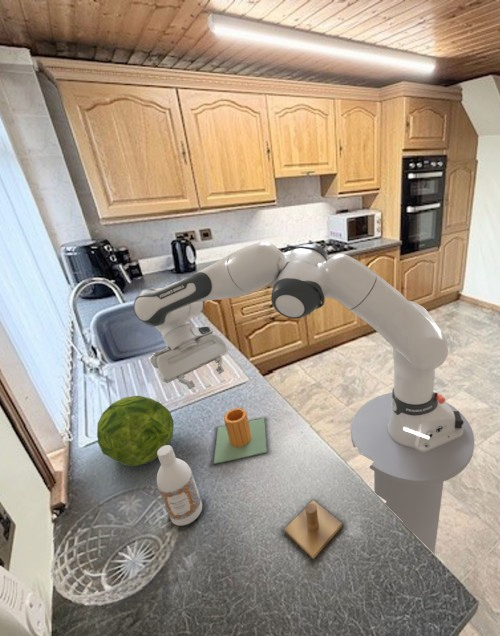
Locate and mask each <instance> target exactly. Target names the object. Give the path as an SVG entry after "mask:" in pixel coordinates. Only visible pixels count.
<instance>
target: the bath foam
mask: <svg viewBox="0 0 500 636" xmlns="http://www.w3.org/2000/svg"><path fill="white" fill-rule="evenodd" d="M157 455H158V457H157V458H158V461H159V462H160V466H159V469H158V471H157V474H156V485H157V490H158V491H159V494H160V497H161V499H162V502H163V504H164V506H165V509H166V511H167V513H168V516H169V518H170V521H171V522H172V524H174V525H176V526H179V527H181V526H182V527H183V526H187V525H189V524H191V523H193V522H194V521H195V520H196V519H198V518H199V516H200V515H201V512H202V509H203V502H202V499H201V495H200V493H199V490H198V487H197V484H196V481H195V477H194V475H193V472H192V469H191V467H190V466H189V464H188V462H186V461H184V460H182V459H180V458H178V457H176V454H175V452H174V449H173V446H172V445H170V444H169V445H166V446H163V447H161V448H160V449H159V450H158V451H157Z"/></svg>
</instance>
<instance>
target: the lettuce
mask: <svg viewBox="0 0 500 636" xmlns="http://www.w3.org/2000/svg"><path fill="white" fill-rule="evenodd" d="M96 429H97V430H96V437H97V444H98V446H99V448H100V450H101V452H102V454H103V455H105V456H106V457H109V458H110V459H111V460H113V461H115V462H118V463H121V464H123V465H125V466H129V467H130V466H132V467H140V466H143V465H146V464H150V463H151V462H152V461H154V460H156V459H157V458H158V455H157V451H158V450H159V449H160V448H161V447H163V446H166V445H170V443H171V441H172V438H173V436H174V418H173V416H172V414H171V411H170V410H169V409H168V408H167V407H166V406H165V405H164V404H162V403H161V402H160V401H157V400H155V399H153V398H150V397H146V396H141V395H134V396H133V395H132V396H125V397H122V398H120V399H119V400H116V401H115V402H112V403H111V404H110V405H109V406H108V407H107V408H106V409H105V410H104V411H103V412H102V414H101V416H100V418H99V420H98V421H97V428H96Z"/></svg>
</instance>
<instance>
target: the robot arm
mask: <svg viewBox="0 0 500 636" xmlns="http://www.w3.org/2000/svg"><path fill="white" fill-rule="evenodd" d="M267 287H272V290H271V296H270V298H271V299H270V300H271V305H272V307H273V308H274V310H275V311H276V312H277V313H278V314H280V315H281V316H283V317H285V318H287V319H294V320H297V319H298V320H299V319H303V318H305V317H307V316H309V315H310V314H312V313H313V312H314V311H315V310H317V309H320V308H322V307H324V305H325V302H326V301H325V300H326V299H332V300H335V301H336V302H338V303H340V304H341V305H342V306H343V307H345V308H346V309H347V310H349V311H350V312H352V313H353V314H354V315H356V316H357V317H358V318H359V319H361V320H362V321H364V322H365V323H366V324H368V325H369V326H370V327H371V328H373V329H374V330H375V331H376V332H377V333H378V334H379V335H380V336H381V337H382V338H383V339H384V340H385V341H386V342H387V343H388V344H389V345H390V346H392V347H391V348H392V358H393V371H394V373H393V388H392V392H391V393H392V414H391V417H390V420H389V423H388V426H387V430H388V433H389V435H390V436H391V438H392V439H393V440H395V441H396V442H397V443H399V444H401V445H404V446H407V447H411V448H414V449H416V450H418V451H419V452H422V453H425V452H428V451H430V450H432V449H434V448H437V447H439V446H441V445H443V444H446V443H448V442H450V441H452V440H455V439H457V438H459V437H461V436H463V427H462V425H463V420H462V419H461V416H460V413H461V412H460V411H459V410H458V411H453V410H452V409H451V407H450V406H449V405H448V404H449V403H448V402H447V401H446V398H445V397H444V396H443V395H442V394H439V391H438V390H437V389H436V388H435V387H434V386H435V376H436V375H435V374H436V369H438V368H439V367H441V366H442V365H443V364H444V363H445V362H446V360H447V358H448V354H449V348H448V343H447V341H446V340H447V339H446V337H445V335H444V332H443V331H442V330H441V328H440V327H439V325H438V324H437V323H436V321H435V320H434V319H433V317H432V316H431V314H430V313H429V311H428V310H427V309H426V308H425V307H424V306H422V305H421V304H419V303H418V302H415V301H412V300H408V299H407V298H406V297H405V296H404V295H403V294H402V293H401V292H400V291H399V290H397V289H396V288H395V287H394V286H393V285H391V284H390V282H387V281H386V280H385V279H384V278H383V277H381V276H380V275H379V274H378V273H377V272H375V271H374V270H372V269H371V268H370V267H368V266H367V265H365V263H362V262H361V261H359V260H357V259H356V258H354V257H352V256H350V255H348V254H345V253H337V254H334V255H332V256H331V257H329V255H328V252H327V251H326V250H325V249H324V248H323V247H322V246H320V245H318V244H315V243H301V244H297V245H292V244H291V245H288V246H286V248H285V249H284V251H281V250H280V249H279V248H278V247H277V246H276V245H275V244H273V243H271V242H267V241H261V242H257V243H253V244H250V245H247V246H244V247H242V248H239V249H237V250H236V251H233V252H231V253H229V254H227V255H226V256H224V257H222V258H221V259H218V260H217V261H215V262H214V263H212V264H210V265H208V266H206V267H204V268H202V269H200V270H199V271H197V272H195V273H193V274H191V275H189V276H187V277H183V278H182V279H179V280H177V281H175V282H173V283H170V284H169V285H166V286H164V287H159V288H144V289H141V290H140V291H139V293H138V294H137V296H136V297H135V299H134V301H133V311H134V315H135V317H136V318H137V319H138V320H139V321H140V322H141V323H143V324H145V325H146V326H148V327H151V328H155V329H156V330H157V331H159V333H160V335H161V337H162V341H163V342H164V344H165V346H166V347H165V348H162V349H161V350H159V351H155V352H154V353H152V355H151V357H150V359H149V361H150V363H151V365H152V366H153V367H154V368H155V369H156V370H157V373H158V376H159V377H160V379H161V382H163V383H165V384H169V383H171V382H173V381H175V380H178V382H179V383H181V384H183V385H185V386H186V387H187V389H188V390H192V389H193V388H195V387H196V385H195V383H194V381H193V380H190V381H189V379H186V377H185V375H187V374H190V373H191V372H193V371H195V370H198V369H200V368H202V367H204V366H206V365H208V364H210V363H213V362H214V363H215V364H217V367H216V369H215V371H216V372H217V374H219V375H220V374H223V373H224V372H225V368H224V367H223V359H222V357H225V356H226V355H227V354H228V353H229V346H228V344H227V343H226V341H225V340H224V339H223V337H222V336H220V334H219V333H217V332H214V327H213V326H212V325H202V326H194V325H192V323H191V320H193V319H195V318H196V317H197V316H199V315H200V314H201V313H202V312H203V310H204V308H205V302H207V301H217V300H226V299H234V298H235V299H236V298H240V297H244V296H248V295H251V294H253V293H256V292H258V291H260V290H262V289H264V288H267ZM446 402H447V403H448V404H447V403H446ZM459 412H460V413H459Z"/></svg>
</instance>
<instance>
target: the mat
mask: <svg viewBox="0 0 500 636" xmlns="http://www.w3.org/2000/svg"><path fill="white" fill-rule="evenodd" d="M265 420H266V419H265V418H258V419H253V420H248V422H249V427H250V432H251V440H250V441H249V443H247V444H246V445H244V446H241V447H234V446H232V445H231V444H230V441H229V437H228V433H227V429H226V425H223V426H218V427H217V430H216V431H217V432H216V441H215V448H214V449H215V450H214V458H213V459H214V460H213V464H214V465H216V464H221V463H226V462H230V461H235V460H239V459H245V458H248V457H254V456H257V455H262V454H267V453H268V451H267V438H266V437H267V436H266V423H265Z"/></svg>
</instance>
